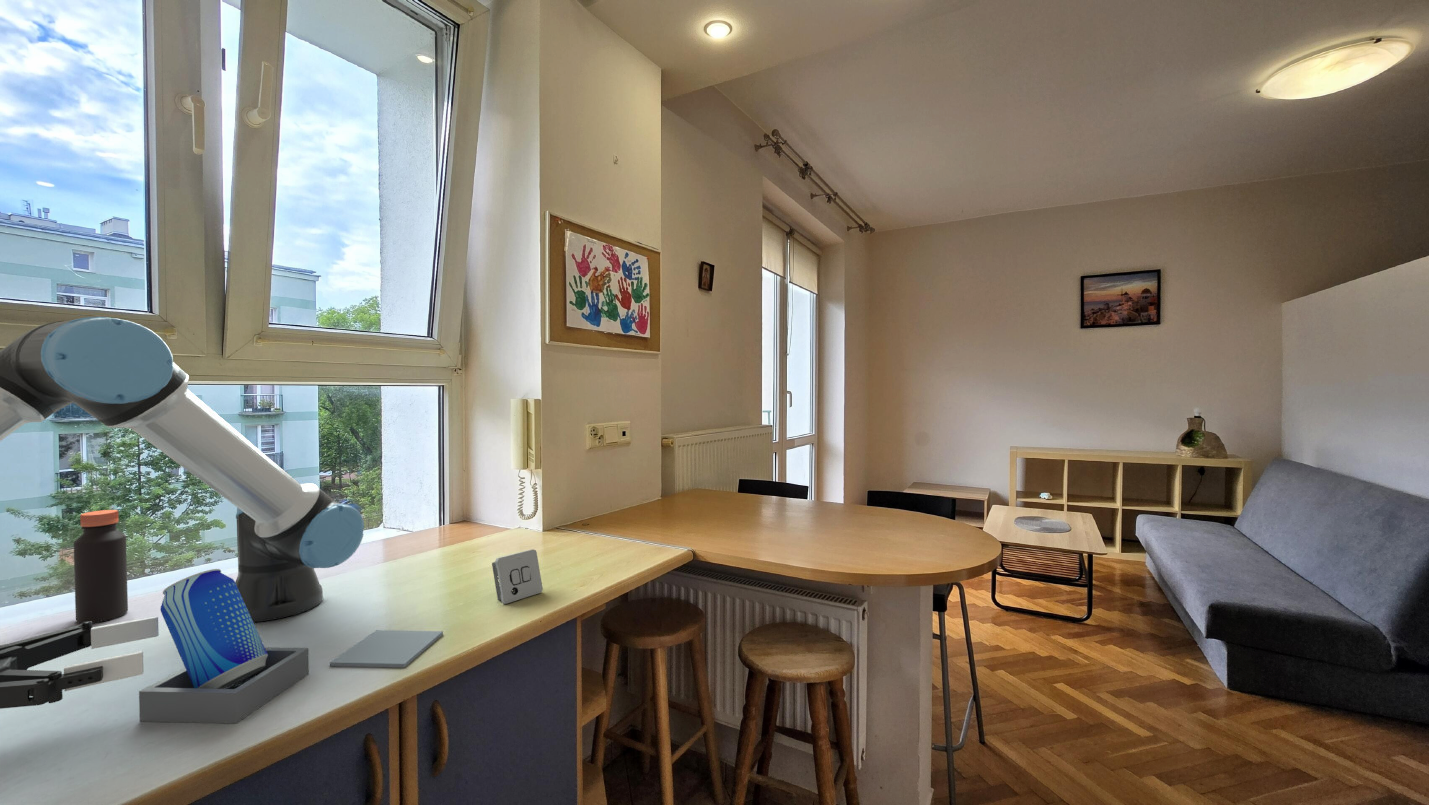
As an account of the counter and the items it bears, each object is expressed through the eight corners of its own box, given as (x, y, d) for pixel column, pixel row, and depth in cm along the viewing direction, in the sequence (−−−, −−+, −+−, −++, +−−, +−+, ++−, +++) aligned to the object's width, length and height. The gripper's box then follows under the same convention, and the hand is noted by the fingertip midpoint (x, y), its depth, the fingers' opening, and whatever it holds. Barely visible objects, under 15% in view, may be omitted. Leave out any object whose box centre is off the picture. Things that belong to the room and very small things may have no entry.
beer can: (229, 688, 86) (187, 592, 88) (284, 656, 87) (241, 562, 89) (182, 707, 78) (137, 600, 80) (244, 672, 79) (197, 568, 81)
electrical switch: (503, 606, 116) (501, 559, 117) (490, 602, 120) (487, 557, 120) (543, 593, 124) (541, 549, 124) (529, 590, 127) (527, 547, 127)
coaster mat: (329, 666, 91) (329, 662, 91) (376, 633, 103) (376, 630, 103) (404, 667, 91) (404, 663, 91) (442, 634, 103) (442, 631, 103)
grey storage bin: (139, 721, 76) (138, 691, 76) (226, 672, 89) (225, 646, 89) (236, 723, 76) (235, 693, 76) (308, 673, 89) (308, 648, 89)
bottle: (76, 617, 110) (73, 512, 109) (127, 607, 115) (124, 507, 114) (75, 627, 105) (72, 518, 104) (128, 617, 110) (126, 512, 109)
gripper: (-65, 682, 74) (163, 638, 87) (-183, 791, 54) (135, 712, 67) (-67, 624, 74) (162, 588, 87) (-186, 712, 54) (134, 649, 67)
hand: (151, 642), depth 77 cm, fingers open, 13 cm apart
